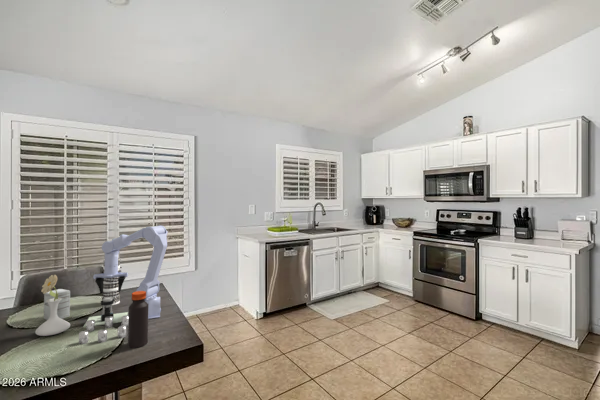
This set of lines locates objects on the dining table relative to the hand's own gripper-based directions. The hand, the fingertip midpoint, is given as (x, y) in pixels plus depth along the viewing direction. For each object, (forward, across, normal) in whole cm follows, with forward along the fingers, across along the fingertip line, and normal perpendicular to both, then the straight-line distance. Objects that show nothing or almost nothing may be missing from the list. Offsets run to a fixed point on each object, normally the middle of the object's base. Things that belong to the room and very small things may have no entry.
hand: (110, 292), depth 147 cm
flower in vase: (+11, -16, -19) cm, 27 cm away
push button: (+10, +1, -11) cm, 15 cm away
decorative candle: (+11, -4, +17) cm, 20 cm away
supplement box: (+11, -22, +1) cm, 25 cm away
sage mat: (+10, +1, -9) cm, 14 cm away
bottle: (+11, +19, -40) cm, 46 cm away
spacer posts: (+10, +4, -26) cm, 28 cm away
